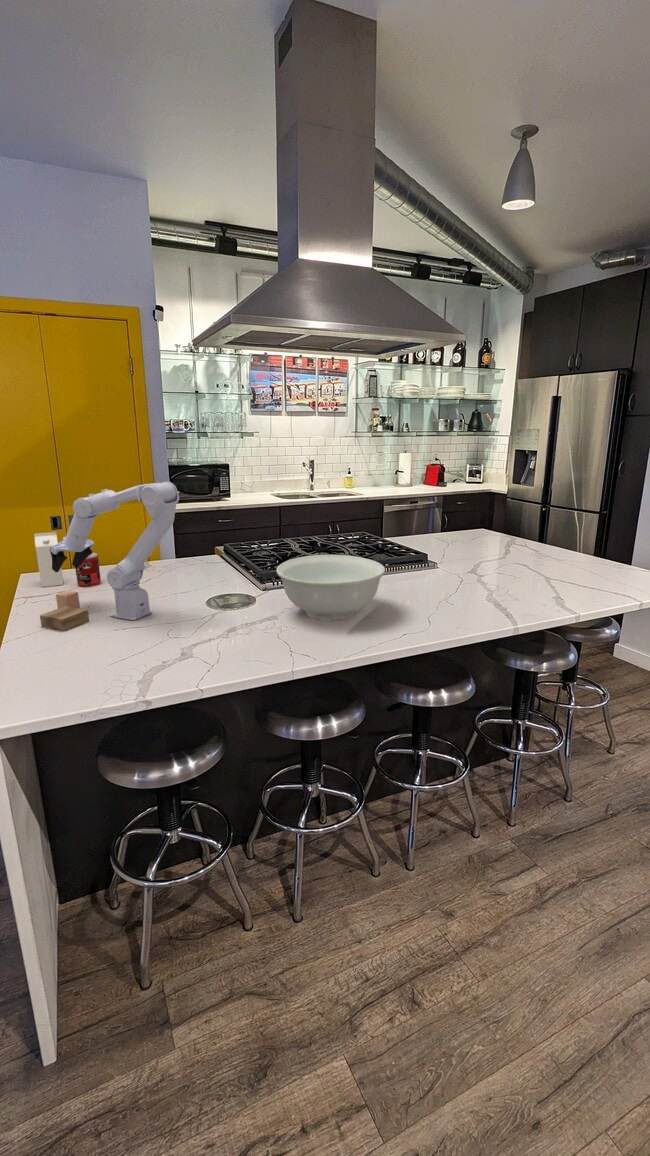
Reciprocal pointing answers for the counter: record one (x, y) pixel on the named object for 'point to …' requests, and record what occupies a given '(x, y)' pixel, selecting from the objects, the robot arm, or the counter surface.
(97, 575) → the canned food
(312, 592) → the bowl
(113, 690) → the counter surface
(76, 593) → the terracotta block
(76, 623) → the walnut base block
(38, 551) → the milk carton
